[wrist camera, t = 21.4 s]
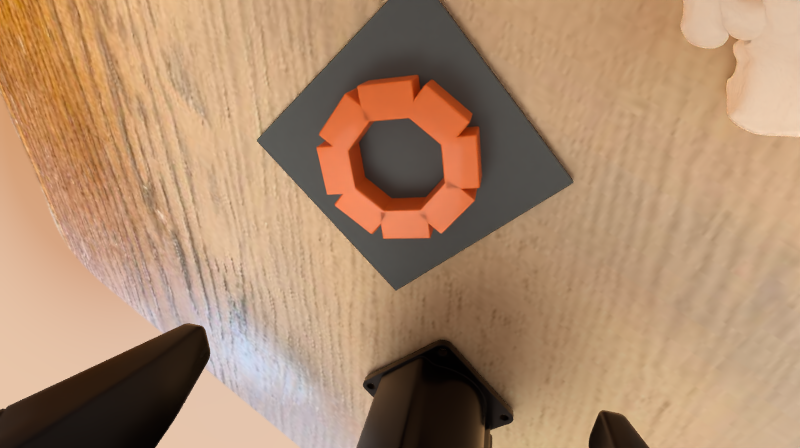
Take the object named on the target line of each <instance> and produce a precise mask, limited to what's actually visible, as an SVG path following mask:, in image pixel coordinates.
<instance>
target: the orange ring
mask: <svg viewBox="0 0 800 448" xmlns="http://www.w3.org/2000/svg"><path fill="white" fill-rule="evenodd" d="M472 115H473V114H472V113H471V112H470V111H469V110H468V109H467V108H465V107H464V106H463V105H462V104H461V103H460V102H458V101H457V100H456V99H455V98H454V97H453V96H451V95H450V94H449V93H448V92H447V91H446V90H444V89H443V88H442V87H441V86H440V85H439V84H437V83H436V82H435V81H434V80H432V79H431V80H430V81H429V82H428V83H426V84H425V85H424V87H423V88H422V89H421V90H420V82H419V76H418V75H410V76H402V77H393V78H385V79H376V80H368V81H366V82H364V83H362V84H360V85H358V86H357V88H355V89H353V90H351V91H349V92H347V93H346V94H344V96H343V97H342V99H341V101H340V102H339V104H338V105H337V107H336V108H335V110H334V111H333V113H332V114H331V116H330V117H329V119H328V120H327V122H326V124H325V125H324V127H323V128H322V130H321V131H320V133H319V136H321V137H322V138H323V139H324V140H326V141H324V142H323V143H322V144H320V145H319V146H317V153H318V157H319V161H320V166H321V170H322V175H323V179H324V183H325V188H326V192H327V195H333V194H342V195H341V196H340V197H339V199H338V200H337V201H336V203H335V206H336V207H337V208H339V209H340V210H341V211H342V212H344V213H345V214H346V215H347V216H349V217H350V218H351V219H353V220H354V221H355V222H356V223H358V224H359V225H360V226H361V227H363V228H364V229H365V230H367V231H368V232H369V233H370V234H373V233H374V232H375V231H376V230H377V229H378V228H379V226H380V225H381V229H382V234H383V239H414V238H430V237H431V235H432V232H433V229H434V228H435V229H436V230H437V231H438V232H440V233H441V234H442V233H443V232H444V231H445V230H446V229H447V228H448V227H449V226H450V225H451V224H452V223H453V222H454V221H455V220H456V219H457V218H458V217H459V216H460V215H461V214H462V213H463V212H464V211H465V210H466V209H467V208H468V207H469V206H470V205H471V204H472V203H473V202H474V201H475V198H476V192H477V188H480V184H481V178H482V168H481V149H480V131H479V127H478V126H476V127H467V126H468V124H469V123H470V120H471V118H472ZM406 118H409V119H411V120H412V121H413V122H414V123H415V124H417V125H418V126H419V127H420V128H421V129H423V130H424V131H425V132H426V133H427V134H429V135H430V136H431V137H432V138H433V139H435V140H436V141H437V142H438V143H439V144H441V152H442V163H443V173H444V178H443V179H442V180H441V181H440V182H439V183H438V184H437V185H436V186H435V188H434V189H433V190H432V191H431V192H430V193H429V194H428V195H427V196H426V197H415V198H391V197H390V196H388V195H387V194H386V193H385V192H383V191H382V190H381V189H380V188H378V187H377V186H376V185H375V184H373V183H372V182H371V181H370V180H368V179H367V178H366V177H365V174H364V168H363V163H362V157H361V152H360V146H359V142H360V140H361V139H362V137H363V136H364V135H365V133H366V132H367V131H368V129H369V128H370V126H371V125H372V124H373V122H374V121H384V120H395V119H406Z"/></svg>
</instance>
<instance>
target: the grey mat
mask: <svg viewBox="0 0 800 448" xmlns="http://www.w3.org/2000/svg"><path fill="white" fill-rule="evenodd" d="M410 75H418V76H419V82H420V90H421V89H422V88H423V87H424V85H425V84H426V83H428V82H429V81H430V80H431V79H432V80H434V81H435V82H436V83H437V84H439V85H440V86H441V87H442V88H443V89H444V90H446V91H447V92H448V93H449V94H450V95H451V96H453V97H454V98H455V99H456V100H457V101H458V102H460V103H461V104H462V105H463V106H464V107H465V108H467V109H468V110H469V111H470V112H471V113H472V114H473V115H472V118H471V120H470V123H469V124H468V126H467V127H476V126H478V127H479V131H480V149H481V168H482V178H481V184H480V188H477V192H476V198H475V201H474V202H473V203H472V204H471V205H470V206H469V207H468V208H467V209H466V210H465V211H464V212H463V213H462V214H461V215H460V216H459V217H458V218H457V219H456V220H455V221H454V222H453V223H452V224H451V225H450V226H449V227H448V228H447V229H446V230H445V231H444V232H443V233H442V234H441V233H440V232H438V231H437V230H436V229H435V228H434V229H433V232H432V235H431V237H430V238H414V239H383V234H382V229H381V225H380V226H379V228H378V229H377V230H376V231H375V232H374V233H373V234H370V233H369V232H368V231H367V230H365V229H364V228H363V227H361V226H360V225H359V224H358V223H356V222H355V221H354V220H353V219H351V218H350V217H349V216H347V215H346V214H345V213H344V212H342V211H341V210H340V209H339V208H337V207H336V206H335V203H336V201H337V200H338V199H339V197H340V196H341V195H342V194H333V195H327V192H326V188H325V183H324V179H323V175H322V170H321V166H320V161H319V157H318V153H317V146H319V145H320V144H322V143H323V142H324V141H326V140H324V139H323V138H322V137H321V136H319V133H320V131H321V130H322V128H323V127H324V125H325V124H326V122H327V120H328V119H329V117H330V116H331V114H332V113H333V111H334V110H335V108H336V107H337V105H338V104H339V102H340V101H341V99H342V97H343V96H344V94H346V93H347V92H349V91H351V90H353V89H355V88H357V86H358V85H360V84H362V83H364V82H366V81H368V80H376V79H385V78H393V77H402V76H410ZM257 142H258V143H259V144H260V145H261V146H262V147H263V148H264V149H265V150H266V151H267V152H268V153H269V155H270V156H271V157H272V158H273V159H274V160H275V161H276V162H277V163H278V164H279V165H280V166H281V167H282V169H283V170H284V171H285V172H286V173H287V174H288V175H289V176H290V177H291V178H292V179H293V180H294V181H295V183H296V184H297V185H298V186H299V187H300V188H301V189H302V190H303V191H304V192H305V193H306V194H307V195H308V197H309V198H310V199H311V200H312V201H313V202H314V203H315V204H316V205H317V206H318V207H319V208H320V209H321V211H322V212H323V213H324V214H325V215H326V216H327V217H328V218H329V219H330V220H331V221H332V222H333V223H334V225H335V226H336V227H337V228H338V229H339V230H340V231H341V232H342V233H343V234H344V235H345V236H346V238H347V239H348V240H349V241H350V242H351V243H352V244H353V245H354V246H355V247H356V248H357V249H358V250H359V252H360V253H361V254H362V255H363V256H364V257H365V258H366V259H367V260H368V261H369V262H370V263H371V264H372V266H373V267H374V268H375V269H376V270H377V271H378V272H379V273H380V274H381V275H382V276H383V277H384V278H385V280H386V281H387V282H388V283H389V284H390V285H391V286H392V287H393V288H394V289H395V290H398V289H399V288H401V287H403V286H404V285H406V284H407V283H409V282H411V281H412V280H414V279H416V278H417V277H419V276H421V275H422V274H424V273H426V272H427V271H429V270H430V269H432V268H434V267H435V266H437V265H439V264H440V263H442V262H444V261H445V260H447V259H449V258H450V257H452V256H454V255H455V254H457V253H458V252H460V251H462V250H463V249H465V248H467V247H468V246H470V245H472V244H473V243H475V242H477V241H478V240H480V239H482V238H483V237H485V236H486V235H488V234H490V233H491V232H493V231H495V230H496V229H498V228H500V227H501V226H503V225H505V224H506V223H508V222H509V221H511V220H513V219H514V218H516V217H518V216H519V215H521V214H523V213H524V212H526V211H528V210H529V209H531V208H533V207H534V206H536V205H537V204H539V203H541V202H542V201H544V200H546V199H547V198H549V197H551V196H552V195H554V194H556V193H557V192H559V191H561V190H562V189H564V188H565V187H567V186H569V185H570V184H572V183H573V180H572V178H571V177H570V176H569V174H568V173H567V172H566V170H565V169H564V168H563V166H562V165H561V164H560V162H559V161H558V160H557V158H556V157H555V155H554V154H553V153H552V151H551V150H550V149H549V147H548V146H547V145H546V143H545V142H544V141H543V139H542V138H541V137H540V135H539V134H538V133H537V131H536V130H535V129H534V127H533V126H532V125H531V123H530V122H529V120H528V119H527V118H526V116H525V115H524V114H523V112H522V111H521V110H520V108H519V107H518V106H517V104H516V103H515V102H514V100H513V99H512V98H511V96H510V95H509V94H508V92H507V91H506V89H505V88H504V87H503V85H502V84H501V83H500V81H499V80H498V79H497V77H496V76H495V75H494V73H493V72H492V71H491V69H490V68H489V67H488V65H487V64H486V63H485V61H484V60H483V59H482V57H481V56H480V54H479V53H478V52H477V50H476V49H475V48H474V46H473V45H472V44H471V42H470V41H469V40H468V38H467V37H466V36H465V34H464V33H463V32H462V30H461V29H460V28H459V26H458V25H457V24H456V22H455V21H454V19H453V18H452V17H451V15H450V14H449V13H448V11H447V10H446V9H445V7H444V6H443V5H442V3H441V2H440V1H439V0H388V1H387V2H386V3H385V4H384V5H383V7H382V8H381V9H380V10H379V11H378V12H377V13H376V14H375V15H374V16H373V17H372V18H371V19H370V20H369V21H368V22H367V24H366V25H365V26H364V27H363V28H362V29H361V30H360V31H359V32H358V33H357V34H356V35H355V36H354V37H353V38H352V39H351V41H350V42H349V43H348V44H347V45H346V46H345V47H344V48H343V49H342V50H341V51H340V52H339V53H338V54H337V55H336V56H335V58H334V59H333V60H332V61H331V62H330V63H329V64H328V65H327V66H326V67H325V68H324V69H323V70H322V71H321V72H320V73H319V75H318V76H317V77H316V78H315V79H314V80H313V81H312V82H311V83H310V84H309V85H308V86H307V87H306V88H305V89H304V91H303V92H302V93H301V94H300V95H299V96H298V97H297V98H296V99H295V100H294V101H293V102H292V103H291V104H290V105H289V106H288V108H287V109H286V110H285V111H284V112H283V113H282V114H281V115H280V116H279V117H278V118H277V119H276V120H275V121H274V122H273V123H272V125H271V126H270V127H269V128H268V129H267V130H266V131H265V132H264V133H263V134H262V135H261V136H260V137H259V138H258V139H257ZM359 146H360V152H361V157H362V163H363V168H364V174H365V177H366V178H367V179H368V180H370V181H371V182H372V183H373V184H375V185H376V186H377V187H378V188H380V189H381V190H382V191H383V192H385V193H386V194H387V195H388V196H390V197H391V198H415V197H426V196H427V195H428V194H429V193H430V192H431V191H432V190H433V189H434V188H435V186H436V185H437V184H438V183H439V182H440V181H441V180H442V179H443V178H444V173H443V163H442V152H441V144H439V143H438V142H437V141H436V140H435V139H433V138H432V137H431V136H430V135H429V134H427V133H426V132H425V131H424V130H423V129H421V128H420V127H419V126H418V125H417V124H415V123H414V122H413V121H412V120H411V119H409V118H406V119H395V120H384V121H374V122H373V124H372V125H371V126H370V128H369V129H368V131H367V132H366V133H365V135H364V136H363V137H362V139H361V140H360V142H359Z"/></svg>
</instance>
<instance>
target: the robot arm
mask: <svg viewBox="0 0 800 448" xmlns="http://www.w3.org/2000/svg"><path fill="white" fill-rule="evenodd" d="M441 348H443V349H445V350H441ZM209 357H210V348H209V343H208V339H207V335H206V331H205V329H204V327H203V326H200V325H195V324H190V323H187V324H184V325H181V326H179V327H177V328H175V329H173V330H171V331H168V332H166V333H164V334H162V335H160V336H158V337H156V338H154V339H151V340H149V341H147V342H145V343H143V344H141V345H139V346H136V347H134V348H132V349H130V350H128V351H126V352H123V353H122V354H119V355H117V356H115V357H113V358H111V359H109V360H106V361H104V362H102V363H100V364H98V365H96V366H93V367H91V368H89V369H87V370H85V371H83V372H80V373H78V374H76V375H74V376H72V377H70V378H68V379H65V380H63V381H61V382H59V383H57V384H55V385H53V386H50V387H48V388H46V389H44V390H42V391H40V392H38V393H35V394H33V395H31V396H29V397H27V398H25V399H22V400H20V401H18V402H16V403H14V404H12V405H10V406H8V407H7V408H6V409H1V410H0V448H155V447H156V446H157V444H158V443H159V441H160V440H161V439H162V437H163V436H164V434H165V433H166V431H167V430H168V428H169V426H170V425H171V424H172V422H173V421H174V419H175V418H176V416H177V414H178V413H179V411H180V409H181V408H182V406H183V404H184V403H185V401H186V399H187V397H188V395H189V394H190V392H191V390H192V388H193V387H194V385H195V383H196V381H197V380H198V378H199V376H200V374H201V373H202V371H203V369H204V367H205V366H206V364H207V362H208V360H209ZM363 387H364V388H365V389H366V390H367V391H368V392H369V393H370V394H371V395H372V396H373V397H374V399H373V402H372V405H371V408H370V411H369V413H368V416H367V419H366V422H365V425H364V428H363V431H362V433H361V436H360V439H359V442H358V445H357V448H492V435H491V434H490V430H492V429H494V428H497V427H500V426H503V425H506V424H509V423H511V422H512V421H513V410H512V409H511V408H510V407H509V406H508V404H507V403H506V402H505V401H504V400H503V399H502V398H501V397H500V396H499V395H498V394H497V393H496V391H495V390H494V389H493V388H492V387H491V386H490V385H489V384H488V383H487V382H486V381H485V380H484V379H483V377H482V376H481V375H480V374H479V373H478V372H477V371H476V370H475V369H474V368H473V367H472V366H471V364H470V363H469V362H468V361H467V360H466V359H465V358H464V357H463V356H462V355H461V354H460V353H459V351H458V350H457V349H456V348H455V347H454V346H453V345H452V344H451V343H450V342H449V341H446V340H438V341H436V342H434V343H432V344H430V345H428V346H426V347H424V348H422V349H420V350H418V351H416V352H414V353H412V354H410V355H408V356H406V357H404V358H402V359H400V360H398V361H396V362H394V363H392V364H390V365H388V366H386V367H384V368H382V369H380V370H378V371H376V372H374V373H372V374H370V375H368V376H367V377H366V378H365V380H364V383H363ZM503 414H504V415H503ZM589 448H649V447H648V446H647V444H646V443H645V442H644V440H643V439H642V438H641V437H640V435H639V434H638V433H637V431H636V430H635V429H634V428H633V426H632V425H631V424H630V422H629V421H628V420H627V419H626V417H625V416H623V415H622V414H619V413H615V412H610V411H605V410H602V411H600V412H599V414H598V416H597V419H596V421H595V424H594V426H593V429H592V432H591V434H590V438H589Z"/></svg>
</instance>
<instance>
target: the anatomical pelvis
mask: <svg viewBox="0 0 800 448" xmlns="http://www.w3.org/2000/svg"><path fill="white" fill-rule="evenodd" d="M683 6H684V10H683V17H682V20H681V24H680V28H681V31H682V33H683V35H684V36H685V38H686V40H687V41H688V42H689V43H691V44H692V45H694V46H698V47H701V48H707V49H714V48H718V47H720V46H722V45H723V44H725V42H726V41H727V39H728V37H729V35H730V36H732V37H734V38H736V39H739V40H738V41H737V42H735V44H734V45H733V53H734V56H735V58H736V60H737V64H736V68H735V72H734V74H733V75H732V77H730V78H729V79H728V80H727V85H726V93H727V115H728V117H729V118H730V120H731V121H732V122H733V123H735V124H736V125H737V126H738V127H740V128H742V129H744V130H746V131H748V132H750V133H754V134H758V135H769V136H791V137H800V0H683Z"/></svg>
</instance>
